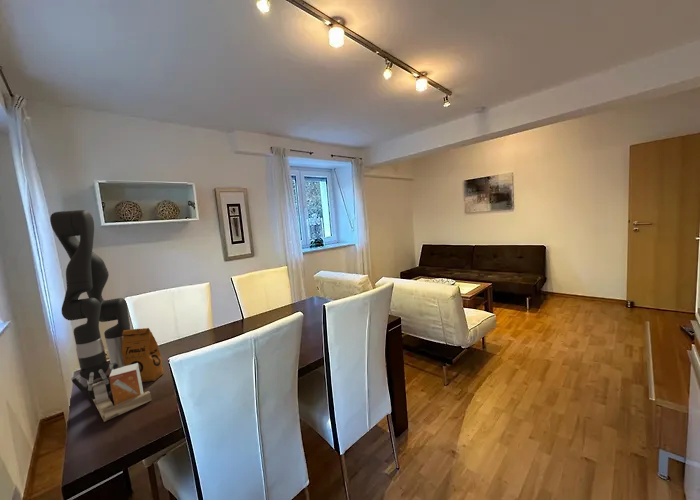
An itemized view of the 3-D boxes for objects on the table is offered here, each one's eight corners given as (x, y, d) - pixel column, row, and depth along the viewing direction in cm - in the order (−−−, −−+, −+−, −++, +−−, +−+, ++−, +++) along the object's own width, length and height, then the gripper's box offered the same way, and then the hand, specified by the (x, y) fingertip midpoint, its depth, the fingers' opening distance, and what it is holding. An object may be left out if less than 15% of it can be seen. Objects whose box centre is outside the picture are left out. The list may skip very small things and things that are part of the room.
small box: (115, 411, 109) (108, 376, 107) (118, 402, 114) (111, 369, 113) (142, 402, 113) (136, 369, 111) (144, 394, 118) (138, 362, 116)
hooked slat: (88, 392, 123) (85, 375, 122) (130, 376, 133) (127, 360, 132) (104, 421, 103) (100, 402, 102) (151, 400, 113) (148, 382, 112)
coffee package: (153, 384, 125) (143, 332, 122) (124, 386, 126) (113, 334, 123) (168, 371, 135) (159, 323, 132) (141, 373, 136) (132, 325, 133)
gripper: (112, 342, 120) (121, 383, 123) (64, 357, 110) (74, 402, 112) (117, 347, 115) (125, 389, 118) (66, 363, 105) (77, 409, 107)
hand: (100, 395), depth 115 cm, fingers closed on hooked slat, 3 cm apart
